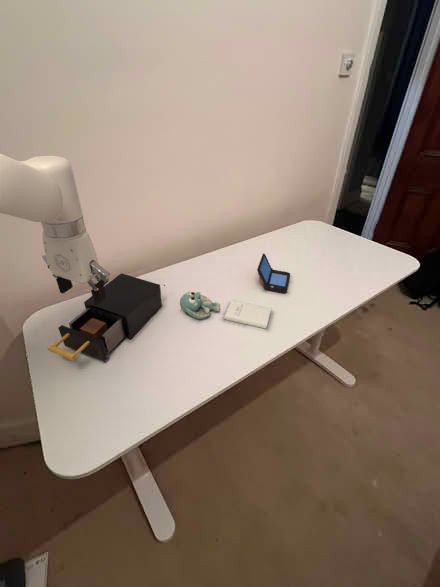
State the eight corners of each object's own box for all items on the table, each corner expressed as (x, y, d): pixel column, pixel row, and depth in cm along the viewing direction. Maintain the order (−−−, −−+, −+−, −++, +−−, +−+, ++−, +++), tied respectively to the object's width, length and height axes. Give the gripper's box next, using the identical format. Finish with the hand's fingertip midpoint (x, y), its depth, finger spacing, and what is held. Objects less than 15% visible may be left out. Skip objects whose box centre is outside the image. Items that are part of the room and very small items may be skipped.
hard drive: (266, 329, 86) (224, 319, 88) (270, 311, 92) (231, 303, 95) (267, 325, 85) (224, 315, 87) (271, 307, 91) (231, 299, 94)
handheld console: (286, 295, 99) (290, 276, 95) (254, 288, 102) (256, 269, 97) (290, 275, 109) (294, 257, 105) (260, 269, 111) (263, 251, 107)
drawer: (87, 379, 69) (81, 361, 65) (46, 362, 72) (38, 343, 69) (139, 325, 84) (136, 307, 80) (103, 312, 88) (99, 295, 84)
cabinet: (131, 339, 81) (126, 316, 76) (90, 324, 85) (83, 302, 80) (162, 306, 92) (160, 284, 87) (125, 294, 96) (121, 273, 91)
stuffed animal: (223, 308, 84) (180, 301, 82) (217, 326, 88) (176, 320, 86) (222, 285, 93) (183, 278, 91) (217, 303, 97) (179, 297, 95)
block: (97, 346, 76) (93, 333, 73) (83, 341, 77) (79, 328, 74) (109, 335, 79) (106, 322, 76) (95, 330, 80) (92, 317, 77)
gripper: (14, 223, 59) (41, 294, 69) (85, 242, 54) (102, 316, 64) (46, 211, 65) (66, 278, 75) (113, 227, 60) (125, 297, 70)
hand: (83, 295), depth 69 cm, fingers open, 9 cm apart
